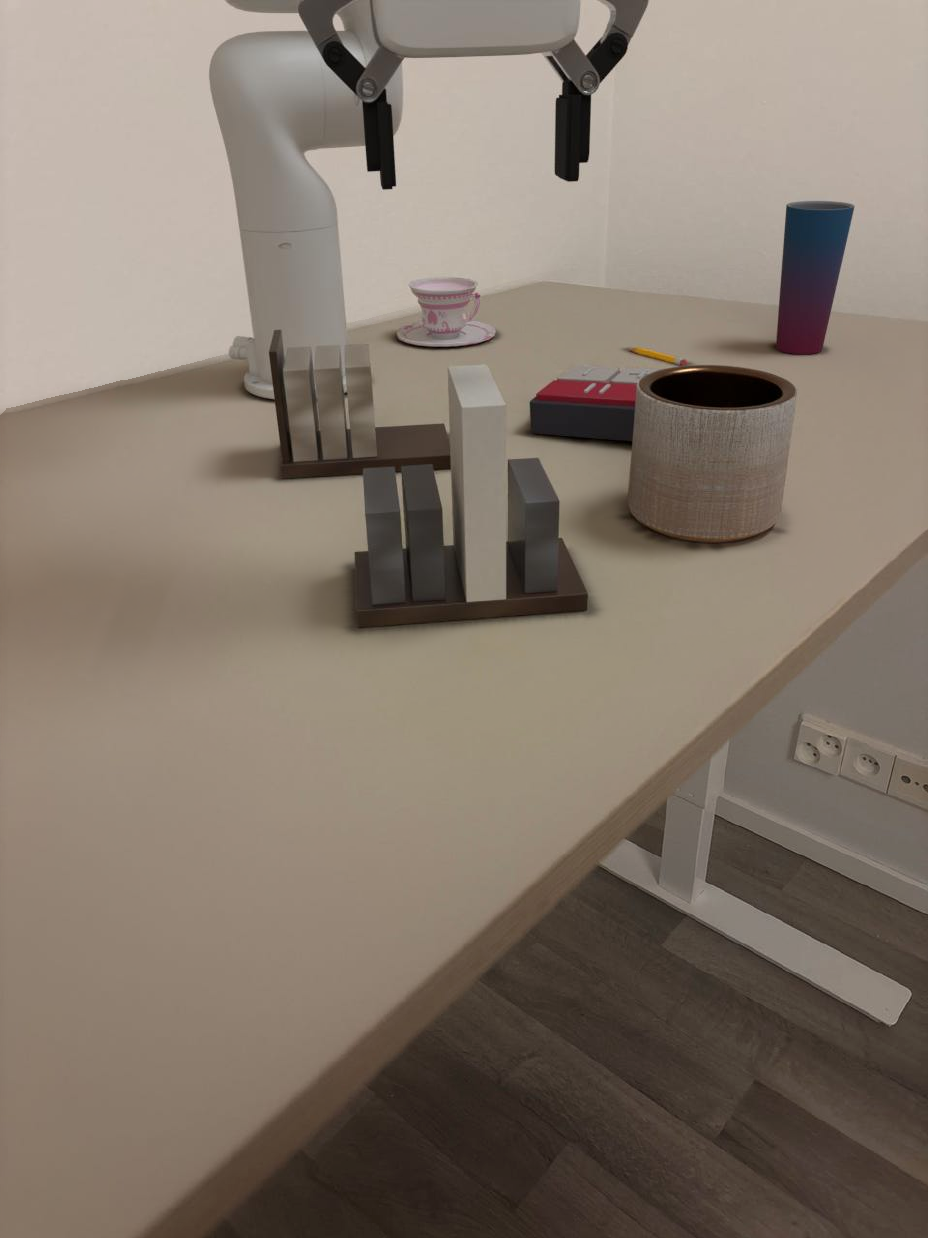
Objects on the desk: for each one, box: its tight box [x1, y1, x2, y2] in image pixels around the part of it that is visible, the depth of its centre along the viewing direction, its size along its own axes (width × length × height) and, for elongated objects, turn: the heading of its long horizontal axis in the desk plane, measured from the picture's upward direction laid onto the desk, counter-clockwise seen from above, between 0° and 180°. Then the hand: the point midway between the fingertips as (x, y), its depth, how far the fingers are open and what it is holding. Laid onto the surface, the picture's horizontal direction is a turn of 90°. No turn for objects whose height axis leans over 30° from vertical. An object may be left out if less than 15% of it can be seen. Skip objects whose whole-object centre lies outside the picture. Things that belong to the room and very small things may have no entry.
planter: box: [627, 364, 798, 544], centre depth 68 cm, size 11×11×10 cm
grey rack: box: [353, 457, 589, 628], centre depth 60 cm, size 14×8×7 cm, turn 96°
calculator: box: [529, 364, 663, 442], centre depth 87 cm, size 11×4×15 cm
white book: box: [447, 363, 507, 602], centre depth 58 cm, size 2×8×12 cm, turn 6°
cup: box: [775, 200, 855, 355], centre depth 105 cm, size 7×7×15 cm
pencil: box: [627, 347, 687, 366], centre depth 107 cm, size 1×9×1 cm, turn 38°
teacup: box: [396, 276, 496, 348], centre depth 116 cm, size 12×12×6 cm
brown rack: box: [269, 330, 451, 480], centre depth 80 cm, size 14×8×10 cm, turn 96°
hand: (477, 182), depth 52 cm, fingers open, 9 cm apart
